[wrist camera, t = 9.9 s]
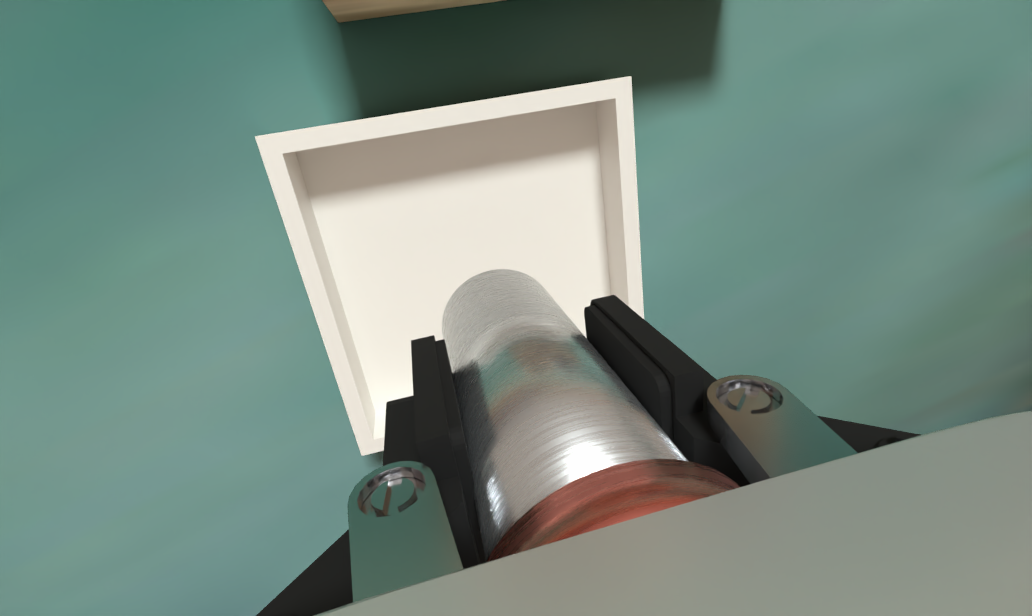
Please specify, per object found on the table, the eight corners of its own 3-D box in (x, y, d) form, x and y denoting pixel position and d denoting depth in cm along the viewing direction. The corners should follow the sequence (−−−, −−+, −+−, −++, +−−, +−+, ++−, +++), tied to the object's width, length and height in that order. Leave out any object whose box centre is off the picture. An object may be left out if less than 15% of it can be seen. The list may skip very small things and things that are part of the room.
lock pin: (556, 245, 14) (832, 476, 5) (571, 367, 16) (803, 710, 7) (417, 274, 14) (450, 591, 5) (446, 397, 15) (514, 817, 6)
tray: (603, 80, 19) (631, 75, 17) (623, 357, 23) (647, 384, 21) (274, 133, 17) (255, 136, 15) (366, 420, 22) (361, 456, 20)
